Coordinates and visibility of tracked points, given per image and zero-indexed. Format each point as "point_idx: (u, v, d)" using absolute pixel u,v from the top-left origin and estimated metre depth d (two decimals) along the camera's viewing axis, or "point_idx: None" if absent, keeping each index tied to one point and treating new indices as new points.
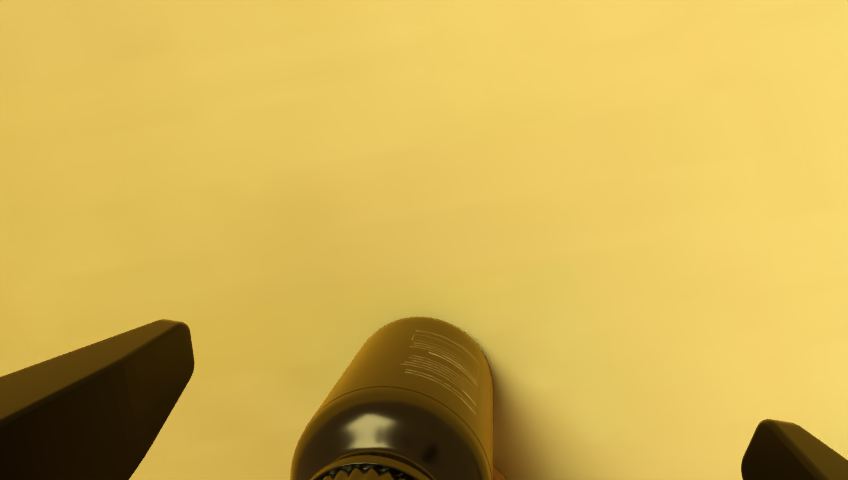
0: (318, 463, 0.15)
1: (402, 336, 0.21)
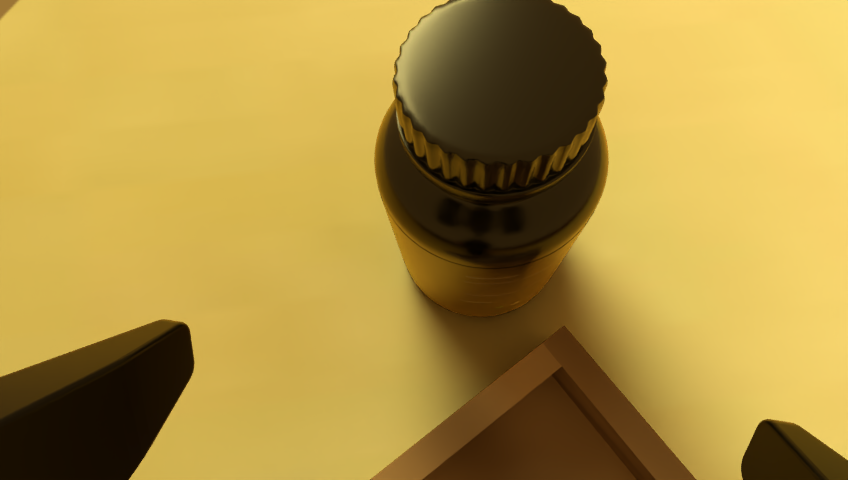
0: None
1: None
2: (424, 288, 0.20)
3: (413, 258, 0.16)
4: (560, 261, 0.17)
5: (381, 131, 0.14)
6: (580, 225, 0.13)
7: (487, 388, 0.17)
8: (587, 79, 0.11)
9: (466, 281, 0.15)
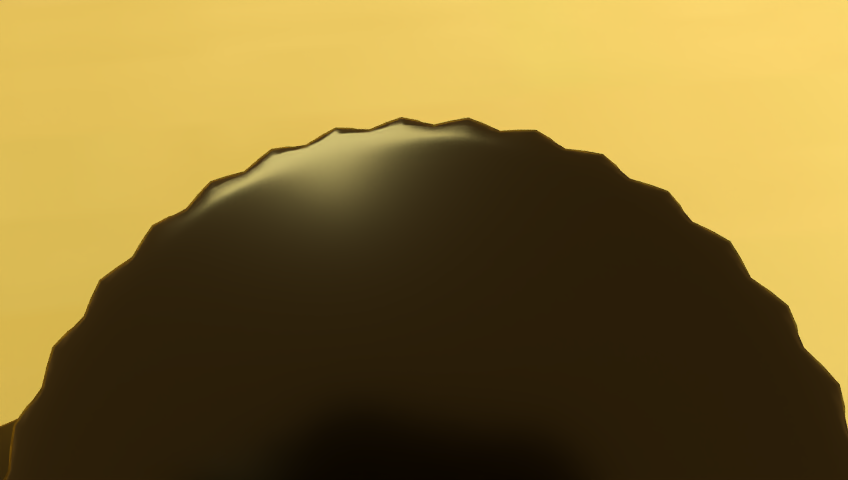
0: None
1: None
2: None
3: None
4: None
5: None
6: None
7: None
8: None
9: None
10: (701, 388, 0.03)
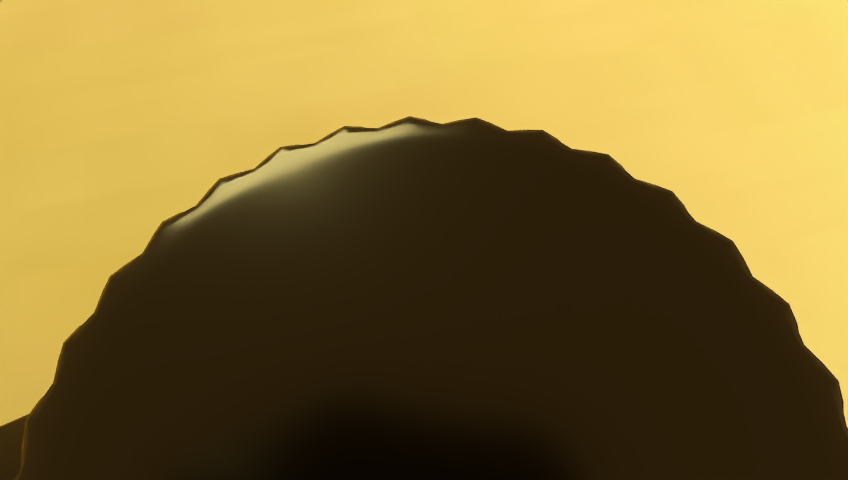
0: None
1: None
2: None
3: None
4: None
5: None
6: None
7: None
8: None
9: None
10: (705, 383, 0.03)
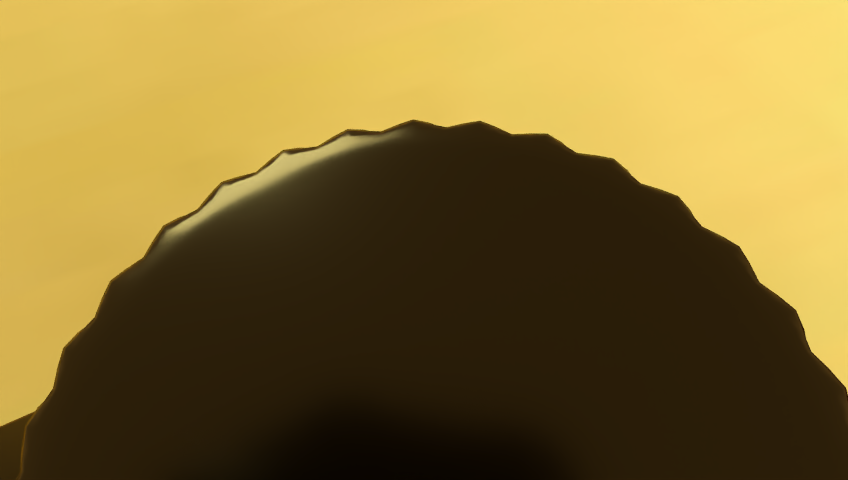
0: None
1: None
2: None
3: None
4: None
5: None
6: None
7: None
8: None
9: None
10: (711, 391, 0.03)
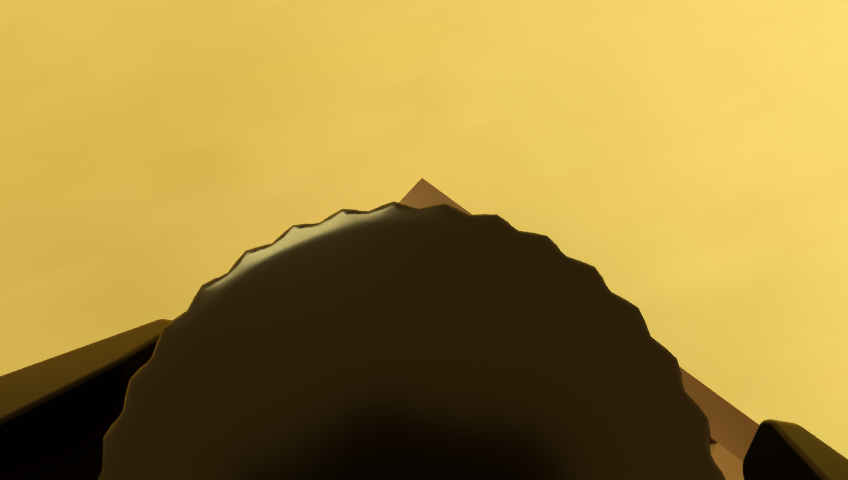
0: None
1: None
2: None
3: None
4: None
5: None
6: None
7: None
8: None
9: None
10: (607, 419, 0.04)
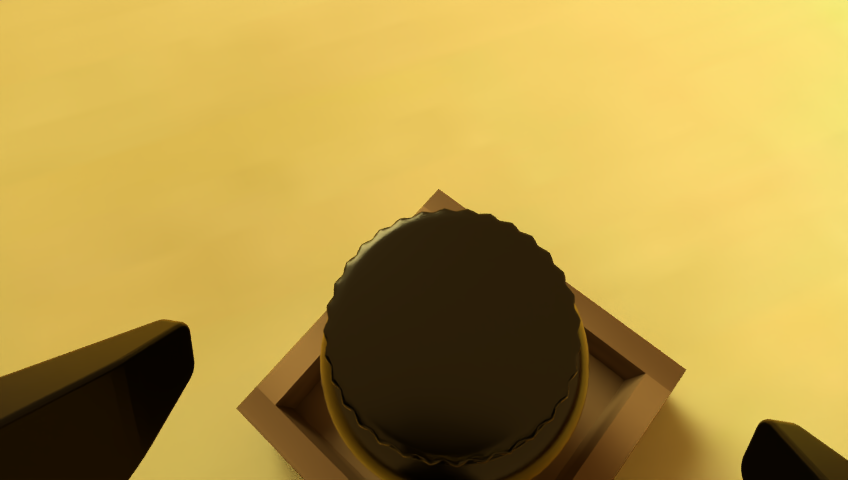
0: None
1: None
2: None
3: None
4: None
5: None
6: (555, 457, 0.11)
7: None
8: (556, 344, 0.09)
9: None
10: (534, 295, 0.09)
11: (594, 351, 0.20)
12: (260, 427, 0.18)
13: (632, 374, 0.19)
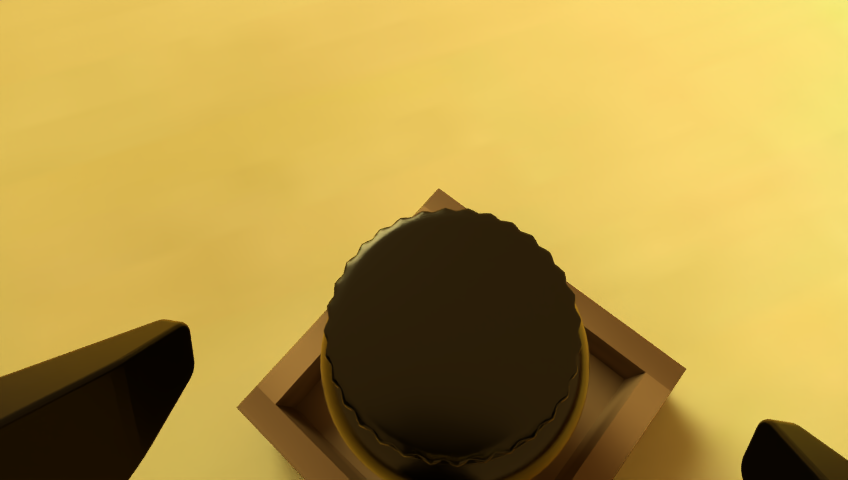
0: None
1: None
2: None
3: None
4: None
5: None
6: (555, 457, 0.11)
7: None
8: (557, 344, 0.09)
9: None
10: (534, 295, 0.09)
11: (594, 350, 0.20)
12: (260, 426, 0.18)
13: (632, 373, 0.19)
